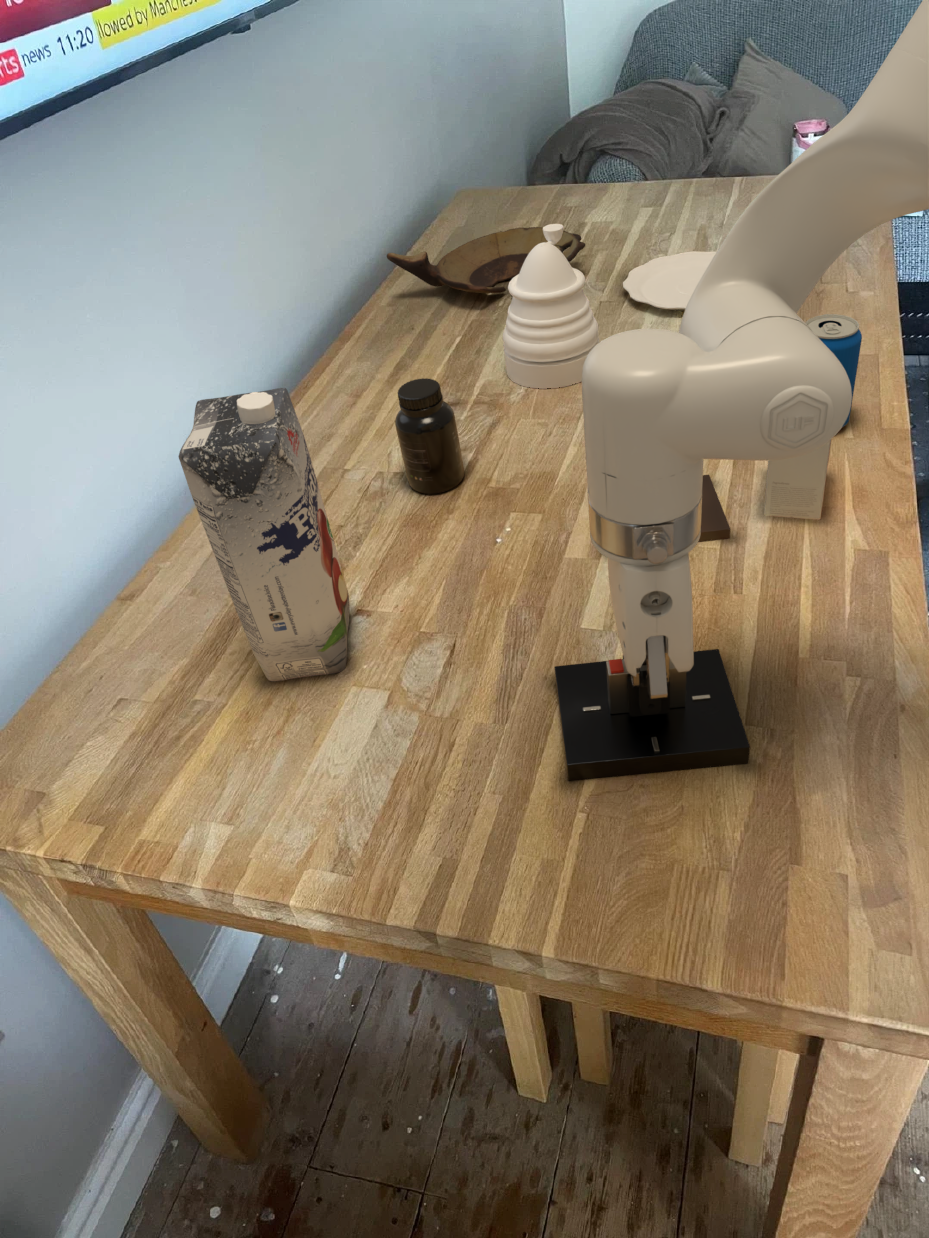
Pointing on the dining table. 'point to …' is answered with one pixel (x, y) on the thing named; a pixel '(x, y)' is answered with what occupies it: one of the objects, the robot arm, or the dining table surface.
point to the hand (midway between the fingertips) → (646, 700)
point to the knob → (620, 688)
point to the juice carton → (269, 531)
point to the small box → (797, 485)
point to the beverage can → (840, 341)
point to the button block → (712, 514)
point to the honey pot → (548, 319)
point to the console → (649, 725)
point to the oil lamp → (484, 259)
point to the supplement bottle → (428, 438)
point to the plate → (668, 279)
